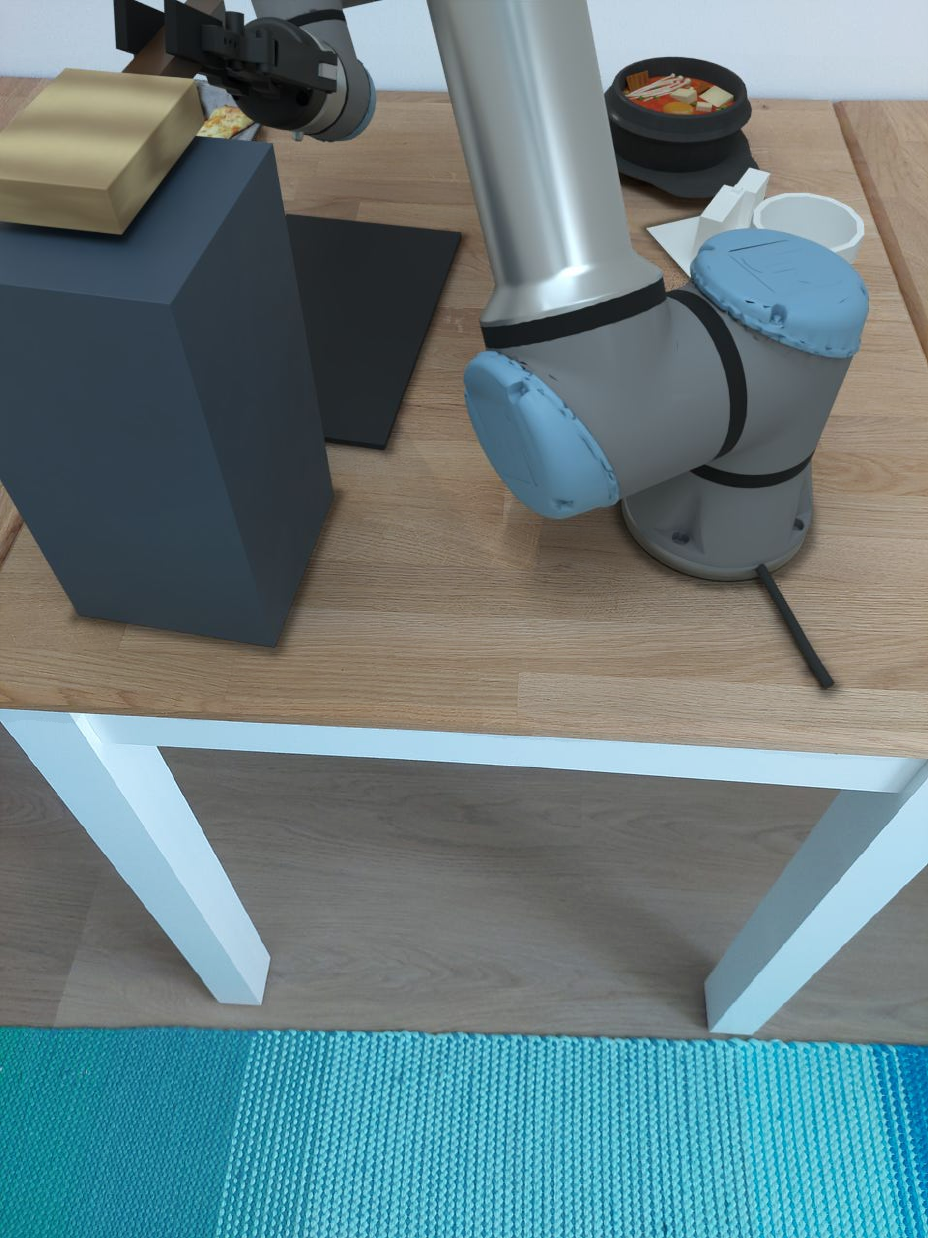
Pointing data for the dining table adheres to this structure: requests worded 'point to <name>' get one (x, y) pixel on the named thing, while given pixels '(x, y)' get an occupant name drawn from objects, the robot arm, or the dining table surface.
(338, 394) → the mat
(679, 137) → the casserole
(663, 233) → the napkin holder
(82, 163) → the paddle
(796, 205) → the foam cup
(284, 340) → the pedestal
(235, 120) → the food plate
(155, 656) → the dining table surface
